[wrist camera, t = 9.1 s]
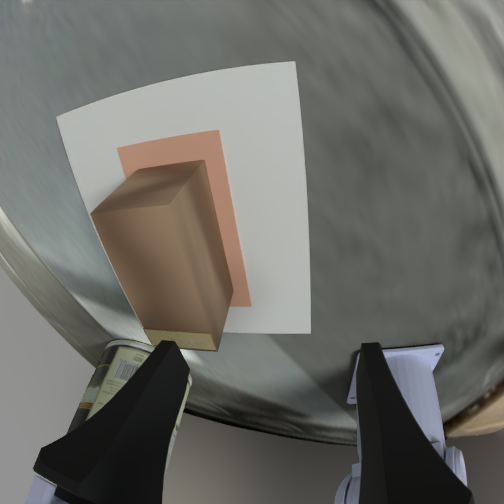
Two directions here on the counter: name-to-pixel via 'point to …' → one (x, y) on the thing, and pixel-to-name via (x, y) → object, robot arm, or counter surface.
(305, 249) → the mat
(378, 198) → the counter surface
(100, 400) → the coffee can
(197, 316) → the walnut block
